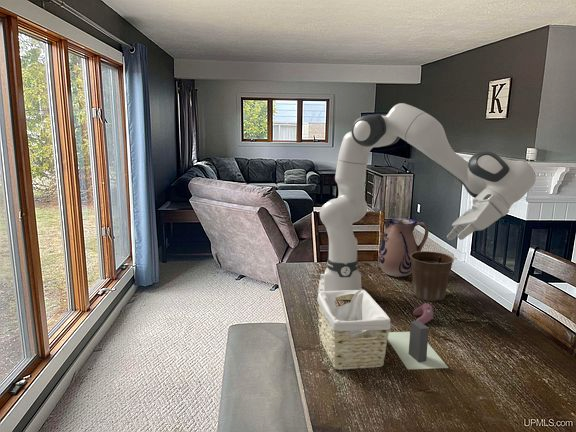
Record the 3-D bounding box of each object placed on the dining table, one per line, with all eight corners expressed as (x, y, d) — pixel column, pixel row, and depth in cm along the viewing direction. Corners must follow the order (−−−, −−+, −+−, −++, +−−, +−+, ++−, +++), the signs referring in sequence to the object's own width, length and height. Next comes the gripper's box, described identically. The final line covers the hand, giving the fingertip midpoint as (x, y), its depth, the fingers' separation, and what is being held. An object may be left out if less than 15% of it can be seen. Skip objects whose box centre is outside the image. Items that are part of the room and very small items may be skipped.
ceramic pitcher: (374, 267, 207) (376, 216, 202) (418, 268, 207) (422, 217, 202) (380, 280, 190) (383, 224, 185) (429, 281, 189) (433, 225, 185)
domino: (408, 353, 126) (410, 321, 124) (416, 352, 127) (418, 320, 125) (418, 362, 121) (420, 329, 119) (426, 361, 122) (429, 327, 120)
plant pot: (451, 306, 162) (454, 265, 159) (406, 300, 167) (408, 260, 164) (450, 291, 177) (453, 253, 174) (408, 286, 182) (411, 249, 179)
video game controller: (426, 331, 145) (437, 314, 143) (413, 324, 145) (424, 307, 144) (423, 319, 154) (433, 303, 153) (411, 312, 155) (421, 296, 153)
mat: (383, 333, 139) (383, 332, 139) (418, 332, 140) (418, 331, 140) (407, 371, 118) (407, 369, 118) (448, 369, 119) (448, 367, 119)
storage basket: (315, 333, 139) (316, 289, 137) (364, 331, 141) (366, 288, 139) (331, 374, 116) (333, 322, 113) (390, 370, 118) (393, 319, 115)
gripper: (468, 202, 137) (436, 231, 137) (495, 194, 117) (457, 228, 117) (482, 217, 137) (450, 246, 137) (512, 211, 116) (474, 246, 116)
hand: (453, 238), depth 127 cm, fingers open, 8 cm apart
